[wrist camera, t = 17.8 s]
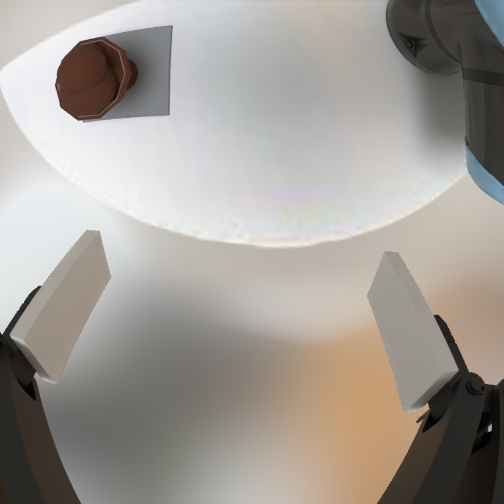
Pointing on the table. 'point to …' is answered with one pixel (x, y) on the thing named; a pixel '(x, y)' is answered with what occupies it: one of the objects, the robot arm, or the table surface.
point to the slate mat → (145, 73)
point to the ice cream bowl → (94, 78)
